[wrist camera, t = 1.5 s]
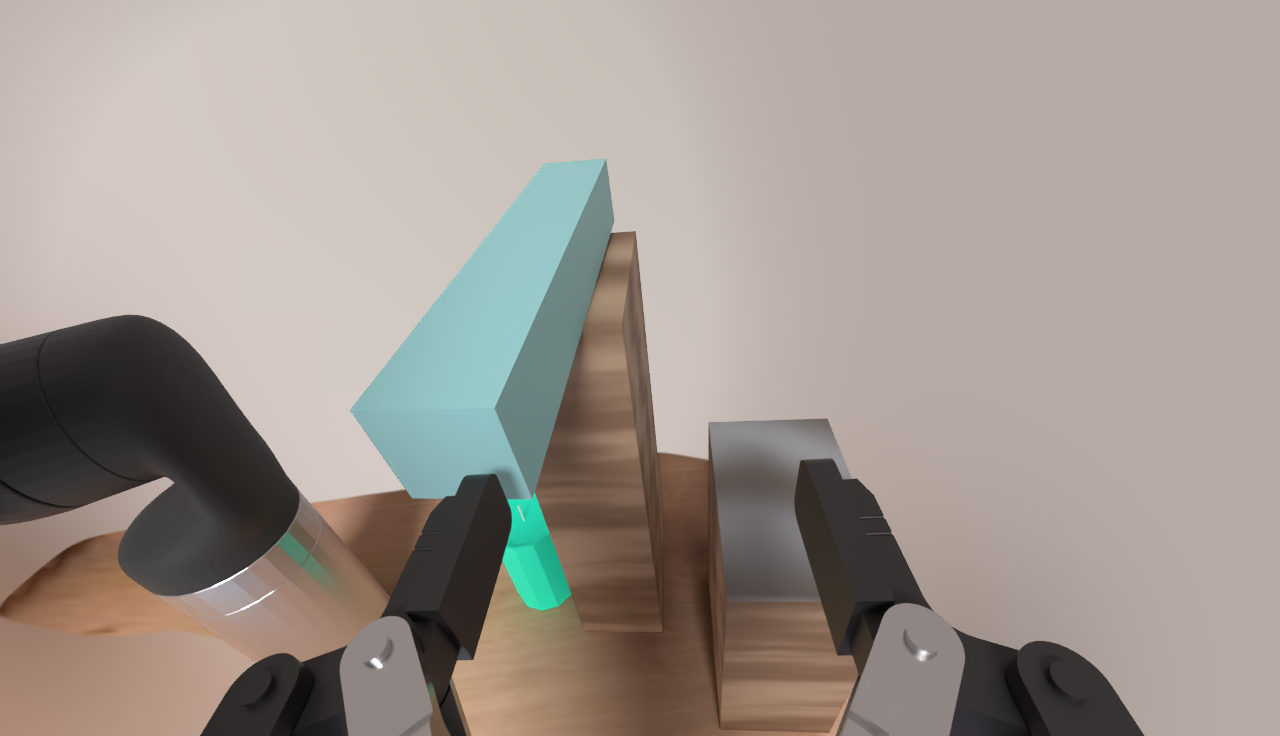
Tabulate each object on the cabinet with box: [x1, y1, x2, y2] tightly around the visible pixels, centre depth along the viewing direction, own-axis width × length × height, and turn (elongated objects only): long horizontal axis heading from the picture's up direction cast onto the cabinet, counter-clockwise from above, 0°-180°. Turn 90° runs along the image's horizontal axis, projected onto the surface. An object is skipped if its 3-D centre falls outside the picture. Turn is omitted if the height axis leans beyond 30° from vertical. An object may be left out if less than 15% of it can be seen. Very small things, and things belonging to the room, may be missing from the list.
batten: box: [350, 159, 614, 500], centre depth 21 cm, size 22×4×4 cm, turn 175°
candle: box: [502, 493, 572, 611], centre depth 41 cm, size 6×6×12 cm
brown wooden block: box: [708, 419, 858, 733], centre depth 33 cm, size 12×8×21 cm, turn 177°
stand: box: [535, 232, 663, 632], centre depth 36 cm, size 12×7×32 cm, turn 177°
